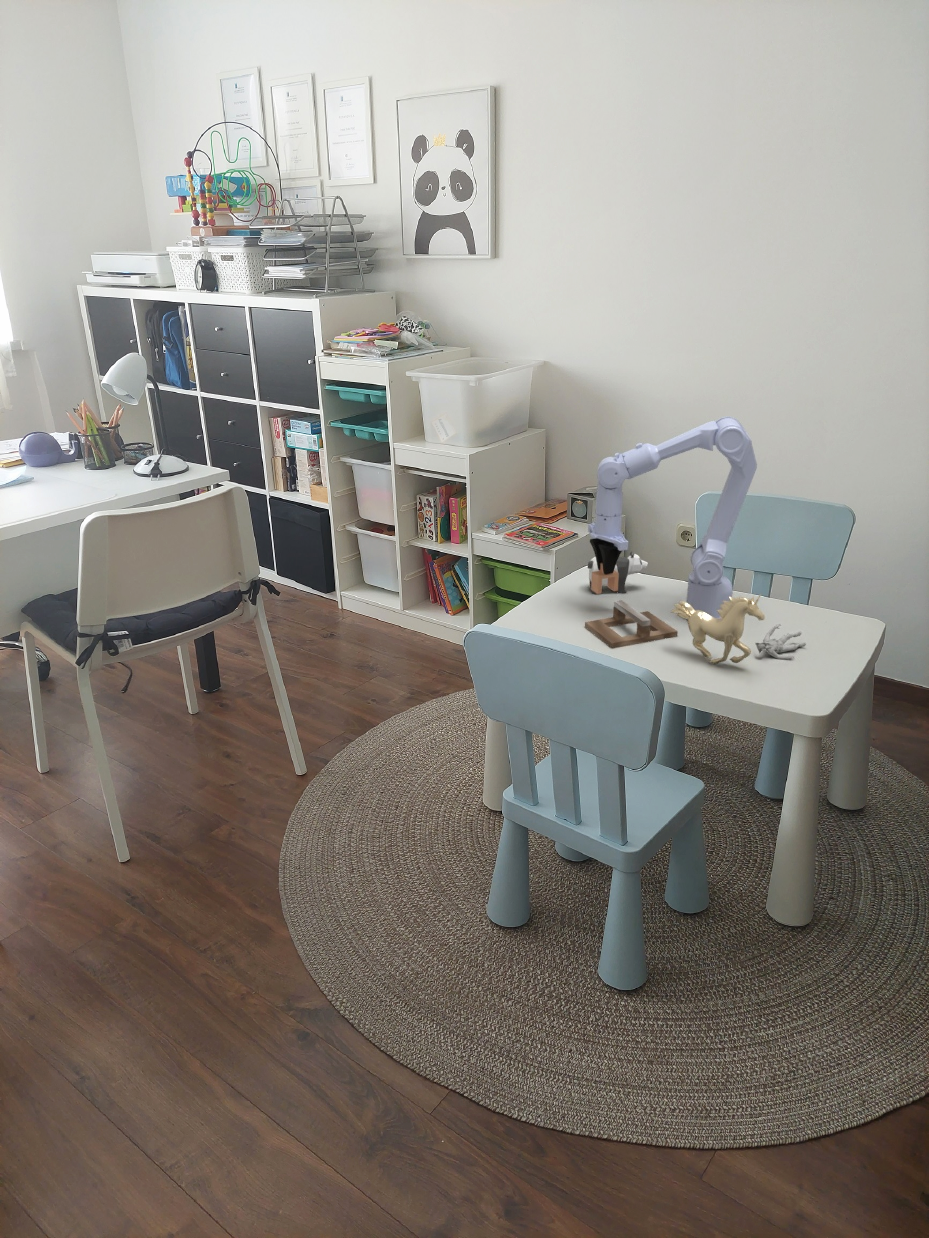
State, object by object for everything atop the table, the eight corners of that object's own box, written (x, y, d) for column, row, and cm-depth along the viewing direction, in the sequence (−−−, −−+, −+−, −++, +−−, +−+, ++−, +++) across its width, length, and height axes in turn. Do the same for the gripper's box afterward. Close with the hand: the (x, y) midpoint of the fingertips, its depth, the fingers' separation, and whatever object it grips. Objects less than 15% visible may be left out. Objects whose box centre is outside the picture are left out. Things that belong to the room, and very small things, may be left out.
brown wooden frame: (647, 616, 202) (649, 595, 200) (677, 636, 192) (679, 614, 190) (584, 627, 197) (585, 606, 195) (611, 648, 187) (613, 626, 185)
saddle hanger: (611, 586, 205) (612, 560, 202) (617, 590, 202) (619, 564, 199) (591, 589, 203) (592, 563, 200) (597, 594, 200) (598, 567, 198)
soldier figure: (812, 657, 184) (782, 656, 176) (792, 667, 187) (762, 666, 179) (798, 623, 187) (768, 621, 179) (778, 633, 190) (748, 631, 182)
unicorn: (662, 650, 186) (669, 573, 179) (672, 644, 188) (679, 568, 181) (751, 679, 173) (762, 598, 166) (761, 672, 175) (772, 592, 169)
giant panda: (588, 595, 214) (590, 557, 210) (584, 586, 219) (586, 550, 215) (648, 593, 215) (651, 555, 211) (643, 584, 220) (645, 548, 216)
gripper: (577, 506, 200) (574, 563, 206) (609, 524, 188) (605, 584, 193) (604, 503, 202) (601, 559, 208) (638, 520, 190) (634, 580, 195)
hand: (605, 571), depth 201 cm, fingers closed on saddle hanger, 2 cm apart
